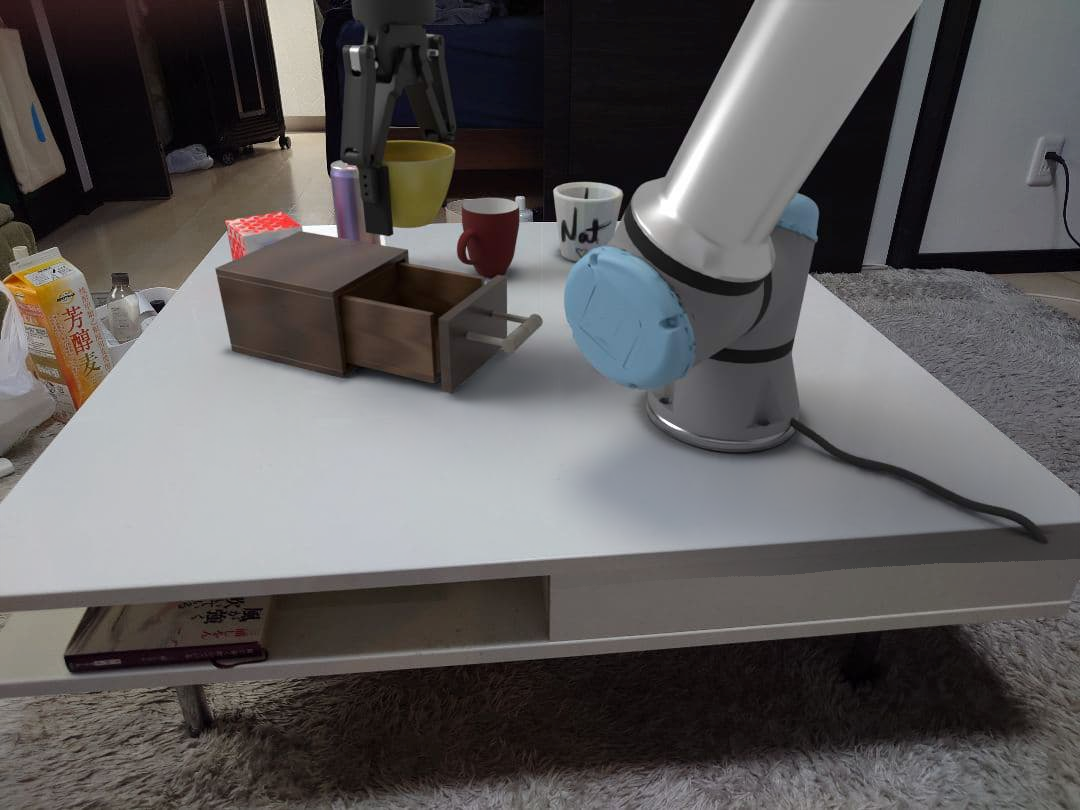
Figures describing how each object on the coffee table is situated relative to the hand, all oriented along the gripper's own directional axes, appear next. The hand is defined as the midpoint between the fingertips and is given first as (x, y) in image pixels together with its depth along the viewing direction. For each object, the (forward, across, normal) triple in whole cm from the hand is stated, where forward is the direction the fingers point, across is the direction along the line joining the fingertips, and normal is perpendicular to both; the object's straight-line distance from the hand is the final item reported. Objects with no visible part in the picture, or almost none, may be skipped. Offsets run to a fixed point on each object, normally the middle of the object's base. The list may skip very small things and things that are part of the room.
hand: (408, 218), depth 80 cm
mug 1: (+17, -27, -5) cm, 32 cm away
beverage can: (+17, -22, -23) cm, 36 cm away
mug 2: (+17, -44, +4) cm, 47 cm away
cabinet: (+17, 0, -13) cm, 21 cm away
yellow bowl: (0, 0, 0) cm, 0 cm away
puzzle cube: (+17, -13, -32) cm, 38 cm away
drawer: (+16, 0, +4) cm, 16 cm away
